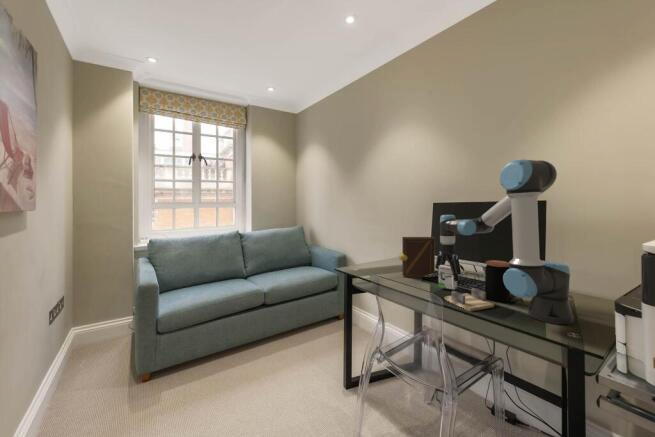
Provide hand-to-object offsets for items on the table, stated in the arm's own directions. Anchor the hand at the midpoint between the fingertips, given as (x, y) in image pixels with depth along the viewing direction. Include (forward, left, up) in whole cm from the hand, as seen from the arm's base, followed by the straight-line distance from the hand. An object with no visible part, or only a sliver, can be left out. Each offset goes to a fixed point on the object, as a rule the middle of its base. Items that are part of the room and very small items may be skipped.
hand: (447, 284), depth 156 cm
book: (+29, -1, -3) cm, 30 cm away
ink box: (0, 0, -2) cm, 2 cm away
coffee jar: (-20, -13, -3) cm, 24 cm away
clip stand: (-20, +5, -3) cm, 21 cm away
